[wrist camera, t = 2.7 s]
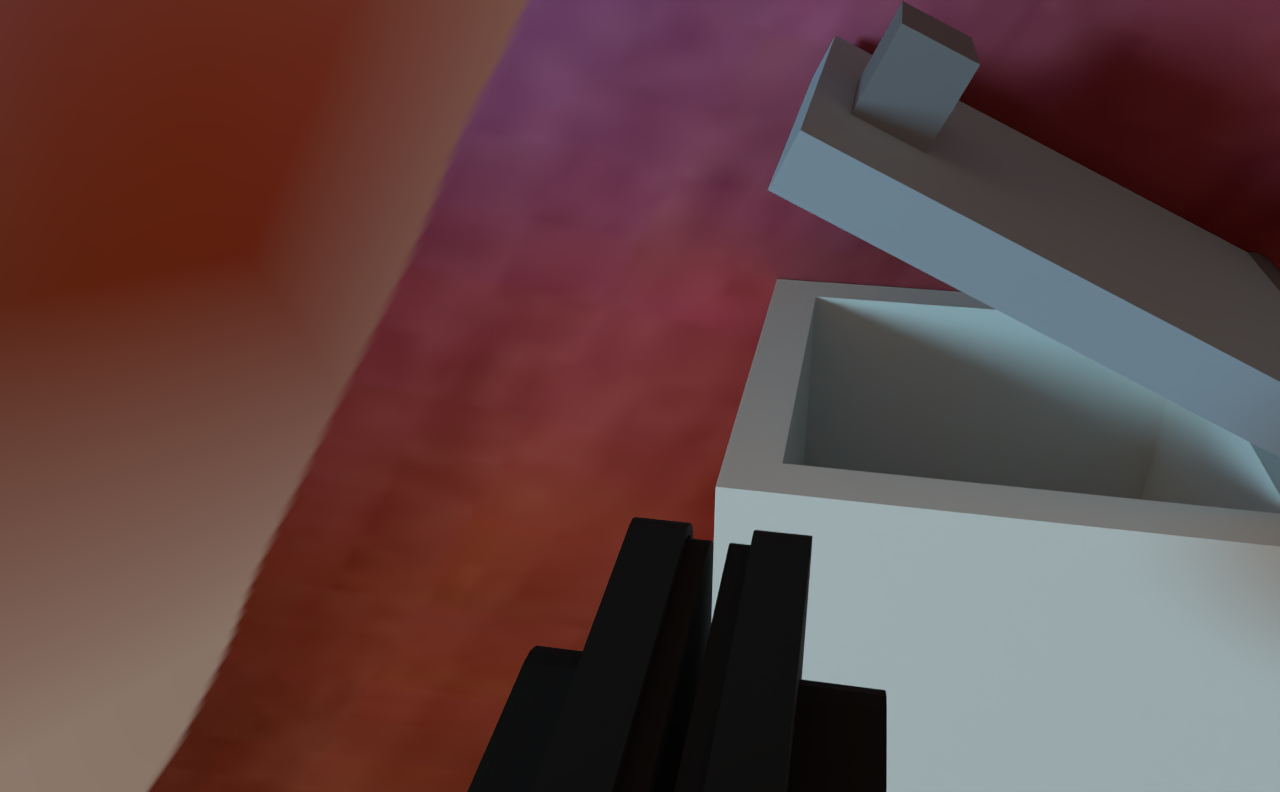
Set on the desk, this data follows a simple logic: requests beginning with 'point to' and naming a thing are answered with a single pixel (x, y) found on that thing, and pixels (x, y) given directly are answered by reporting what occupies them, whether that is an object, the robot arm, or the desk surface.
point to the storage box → (1012, 548)
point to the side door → (1032, 228)
